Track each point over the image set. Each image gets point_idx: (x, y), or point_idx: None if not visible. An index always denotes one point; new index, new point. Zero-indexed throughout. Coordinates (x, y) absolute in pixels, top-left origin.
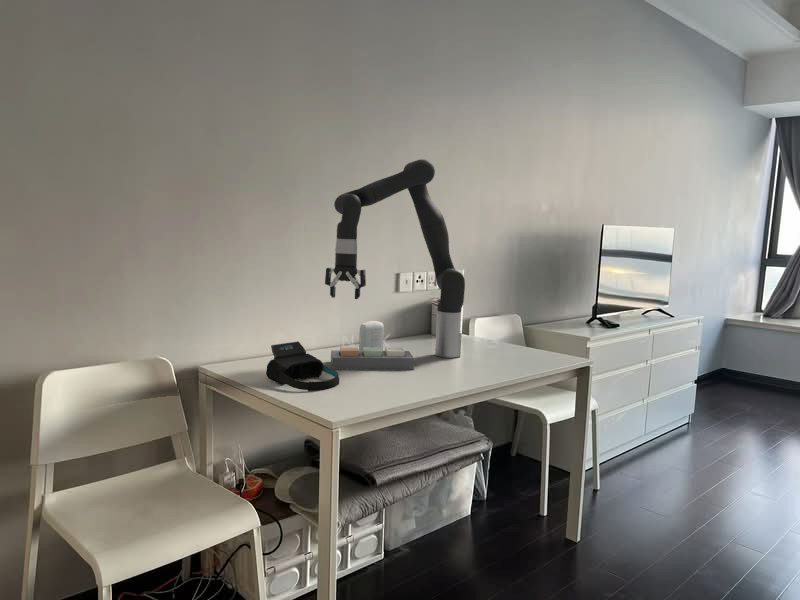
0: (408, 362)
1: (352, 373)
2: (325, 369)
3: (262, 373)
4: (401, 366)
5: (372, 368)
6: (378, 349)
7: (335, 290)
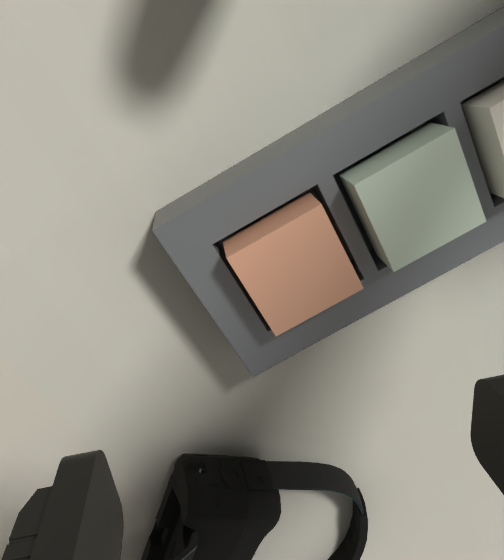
0: None
1: (350, 356)
2: (284, 472)
3: None
4: None
5: None
6: (460, 191)
7: (74, 547)
